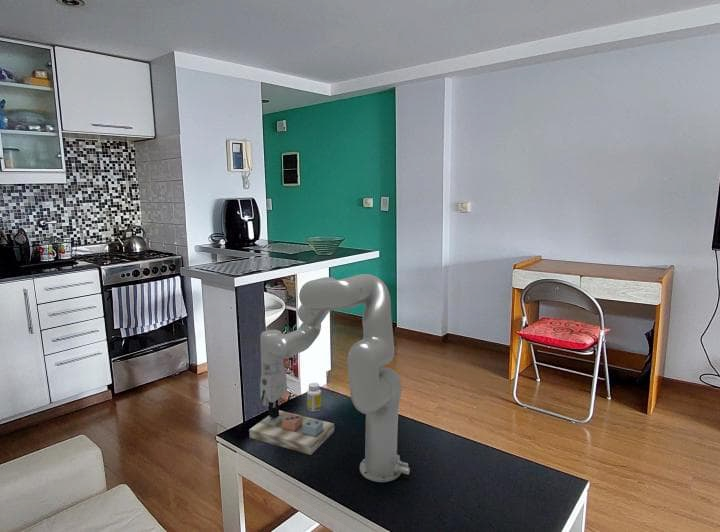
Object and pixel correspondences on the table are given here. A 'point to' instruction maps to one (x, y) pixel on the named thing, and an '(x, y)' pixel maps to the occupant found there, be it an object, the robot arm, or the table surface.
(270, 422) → the key one dot
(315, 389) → the supplement bottle
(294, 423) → the key three dots
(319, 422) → the key two dots
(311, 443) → the key panel
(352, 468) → the table surface
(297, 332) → the robot arm
